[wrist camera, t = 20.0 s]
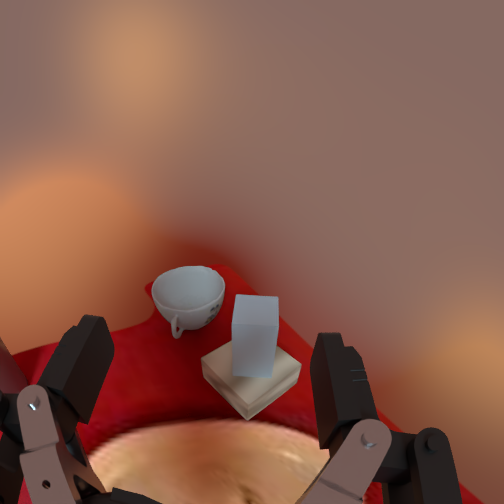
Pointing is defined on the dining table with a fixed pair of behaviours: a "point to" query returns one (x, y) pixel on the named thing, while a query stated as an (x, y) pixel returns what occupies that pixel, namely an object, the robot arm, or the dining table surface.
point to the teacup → (188, 297)
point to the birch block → (249, 380)
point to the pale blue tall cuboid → (254, 335)
